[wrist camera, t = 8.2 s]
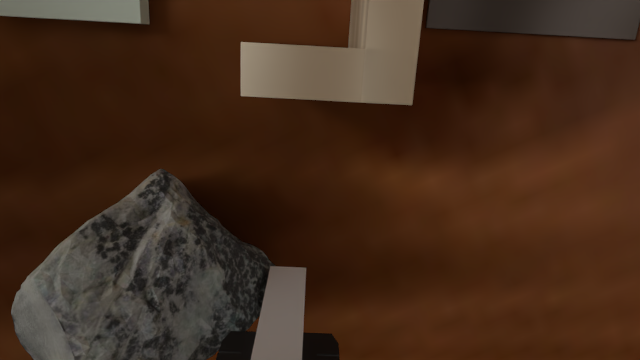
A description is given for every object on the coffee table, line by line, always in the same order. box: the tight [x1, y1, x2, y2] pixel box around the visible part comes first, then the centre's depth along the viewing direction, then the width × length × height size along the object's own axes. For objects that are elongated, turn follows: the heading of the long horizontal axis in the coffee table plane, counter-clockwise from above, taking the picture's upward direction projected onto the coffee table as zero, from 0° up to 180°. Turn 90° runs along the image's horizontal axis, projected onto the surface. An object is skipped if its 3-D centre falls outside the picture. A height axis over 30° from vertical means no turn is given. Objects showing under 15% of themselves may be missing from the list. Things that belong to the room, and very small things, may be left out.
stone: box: [11, 169, 275, 360], centre depth 19 cm, size 10×10×10 cm
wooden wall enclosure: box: [241, 0, 640, 105], centre depth 17 cm, size 19×32×7 cm, turn 177°
